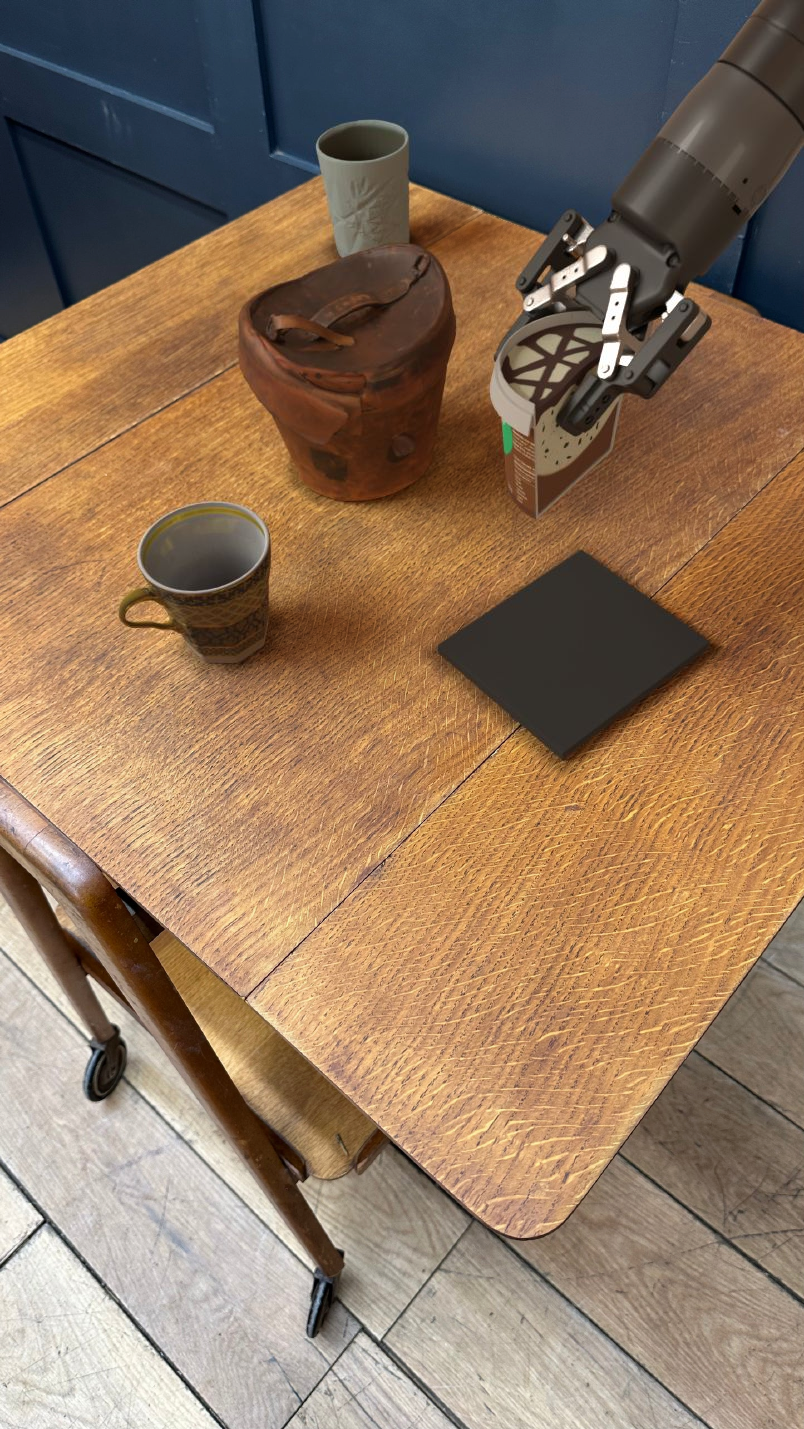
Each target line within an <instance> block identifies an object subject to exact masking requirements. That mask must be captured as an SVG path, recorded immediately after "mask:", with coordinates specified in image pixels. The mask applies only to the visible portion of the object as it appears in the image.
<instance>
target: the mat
mask: <svg viewBox="0 0 804 1429" xmlns="http://www.w3.org/2000/svg"><path fill="white" fill-rule="evenodd" d="M710 644H711V641H710V640H708V639H707V638H705V637H704V636H703V635H702V634H700V633H699V632H697V631H696V630H694V629H693V628H692V627H690V626H689V625H687V623H685V622H683V621H682V620H681V619H679V618H678V617H677V616H675V615H674V614H672V613H671V612H669V611H668V610H667V609H665V608H664V607H662V606H661V605H659V604H658V603H657V602H656V601H654V600H653V599H651V598H650V597H648V596H647V595H646V594H644V593H643V592H641V590H639V589H638V588H636V587H634V586H633V585H632V584H630V583H629V582H628V581H626V580H625V579H623V578H622V577H621V576H619V575H618V574H617V573H615V572H613V571H612V570H611V569H609V568H608V567H606V566H605V565H604V564H602V563H601V562H599V560H597V559H596V558H594V557H593V556H591V555H590V554H588V553H587V552H586V551H584V550H583V549H579V550H578V551H576V552H575V553H574V554H572V555H570V556H569V557H568V558H566V559H564V560H563V561H562V562H560V563H559V564H557V565H555V566H554V567H552V568H551V569H549V570H548V571H547V572H545V573H544V574H542V575H541V576H539V577H537V578H536V579H534V580H533V581H531V582H530V583H529V584H527V585H526V586H524V587H523V588H521V589H520V590H518V591H516V592H515V593H513V594H512V595H511V596H509V597H508V598H506V599H504V600H503V601H501V602H500V603H498V604H497V605H495V606H494V607H493V608H491V609H490V610H488V611H487V612H485V613H483V614H482V615H479V617H477V618H476V619H474V620H473V621H472V622H469V623H468V624H467V625H466V626H464V627H462V628H461V629H459V630H458V631H457V632H455V633H453V634H452V635H451V636H449V637H447V638H446V639H445V640H443V641H441V642H439V643H438V644H437V653H438V654H439V655H440V656H441V657H442V658H443V659H444V660H446V662H448V663H449V664H450V665H452V666H453V667H454V668H455V669H456V670H457V671H459V673H461V674H462V675H463V676H464V677H465V678H467V679H468V680H469V681H470V682H471V683H472V684H474V685H475V687H477V688H478V689H479V690H480V691H481V692H483V693H484V694H485V695H486V696H488V698H490V700H492V701H493V702H494V703H495V704H497V705H498V707H500V708H501V709H502V710H503V711H504V712H505V713H507V715H509V716H510V717H511V718H512V719H514V720H515V721H516V722H517V723H518V724H520V725H521V726H522V727H523V728H524V729H525V730H526V731H528V732H529V733H530V734H531V735H532V736H533V737H535V738H536V739H537V740H538V741H539V742H540V743H541V744H543V746H545V747H546V748H547V749H548V750H549V751H551V753H553V754H554V755H555V756H556V757H558V758H559V759H560V760H561V761H564V760H565V759H567V758H568V757H569V756H570V755H572V754H573V753H574V752H576V751H577V750H578V749H579V748H581V747H582V746H583V745H585V744H586V743H588V742H589V741H590V740H592V738H594V737H595V736H596V735H598V734H599V733H600V732H602V731H603V730H604V729H606V728H608V726H610V725H611V724H612V723H614V722H615V721H616V720H617V719H619V718H621V716H623V715H625V713H627V712H628V711H629V710H631V709H632V708H633V707H635V706H636V705H637V704H638V703H640V702H641V701H643V700H644V699H645V698H646V697H647V696H649V695H651V694H652V693H653V692H654V691H656V690H657V689H659V688H660V687H661V686H663V685H664V684H665V683H666V682H668V681H669V680H670V679H671V678H673V677H674V676H676V675H677V674H678V673H680V672H681V671H682V670H684V669H685V668H686V667H687V666H688V665H690V664H691V663H693V662H694V661H695V660H696V659H698V658H699V657H701V656H702V655H703V654H704V653H706V652H707V651H708V650H709V648H710Z"/></svg>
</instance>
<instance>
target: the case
mask: <svg viewBox="0 0 804 1429" xmlns="http://www.w3.org/2000/svg"><path fill="white" fill-rule="evenodd" d="M451 290H452V289H451V285H450V281H449V279H448V276H447V273H446V271H445V269H444V267H443V265H442V263H441V261H440V260H439V259H438V257H437V256H435V255H434V253H432V252H431V251H430V250H428V249H427V248H425V247H423V246H420V245H418V244H414V243H410V242H409V243H389V244H384V245H380V246H378V247H375V248H371V249H368V250H364V251H359V252H357V253H354V254H351V255H348V256H345V257H343V258H342V257H340V258H338V259H335V260H334V261H332V262H331V263H328V264H326V265H323V266H321V267H317V268H315V269H313V270H310V271H308V272H307V273H305V274H304V275H302V276H300V277H297V278H294V279H291V280H287V281H284V282H280V283H278V284H275V285H273V286H270V287H268V288H266V289H264V290H262V291H260V292H258V293H257V294H254V296H252V297H251V298H249V299H248V300H247V301H246V302H245V303H244V304H243V305H242V307H241V309H240V310H239V314H238V320H237V321H238V323H237V324H238V325H237V326H238V348H237V349H238V350H237V354H238V355H237V358H238V365H239V369H240V371H241V373H242V375H243V378H244V380H245V381H246V382H247V384H248V386H249V388H250V390H251V391H252V393H253V394H254V396H255V397H256V399H257V401H258V402H259V403H260V404H261V405H262V406H263V407H264V408H265V410H266V411H267V412H268V413H269V414H270V415H271V417H272V419H273V422H274V424H275V425H276V426H275V427H276V428H277V430H278V431H279V435H280V436H281V438H282V441H283V442H284V445H285V448H286V449H287V452H288V454H289V456H290V458H291V461H292V462H293V464H294V466H295V468H296V472H297V475H298V477H299V479H300V481H301V482H302V483H303V485H304V486H306V487H307V488H308V489H310V490H311V491H313V492H315V493H318V494H319V495H322V496H324V497H326V498H329V499H333V500H337V501H347V502H353V501H354V502H355V501H356V502H357V501H368V500H375V499H379V498H383V497H386V496H390V495H392V494H396V493H397V492H400V491H401V490H403V489H405V488H407V487H408V486H410V485H412V484H413V483H415V482H416V481H418V479H420V478H421V476H422V475H424V473H425V472H426V471H427V470H428V469H429V467H430V465H431V463H432V460H433V456H434V450H435V444H436V438H437V434H438V428H439V427H438V426H439V421H440V416H441V410H442V404H443V398H444V392H445V385H446V380H447V372H448V364H449V361H450V358H451V355H452V351H453V347H454V346H455V345H454V344H455V342H456V337H457V315H456V314H455V309H454V304H453V296H452V291H451Z"/></svg>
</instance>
